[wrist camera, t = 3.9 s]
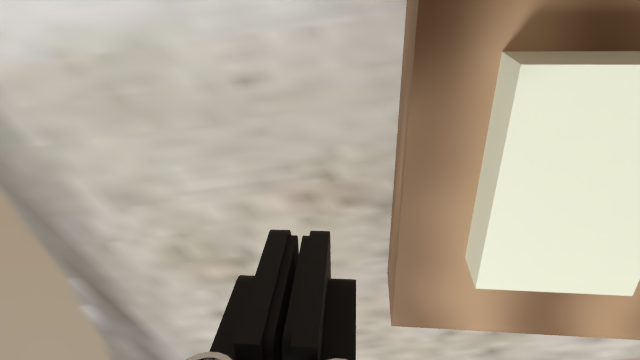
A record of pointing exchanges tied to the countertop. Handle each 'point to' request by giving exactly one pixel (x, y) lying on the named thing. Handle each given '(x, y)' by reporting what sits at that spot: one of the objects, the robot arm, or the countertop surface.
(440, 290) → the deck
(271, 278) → the robot arm
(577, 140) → the cream rectangular block
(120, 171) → the countertop surface
